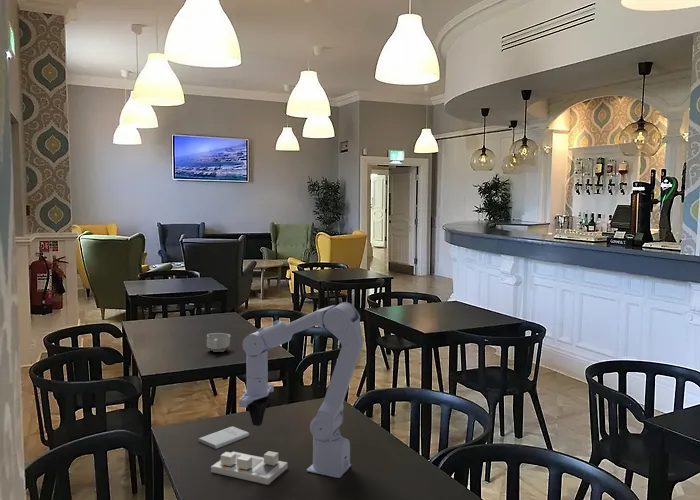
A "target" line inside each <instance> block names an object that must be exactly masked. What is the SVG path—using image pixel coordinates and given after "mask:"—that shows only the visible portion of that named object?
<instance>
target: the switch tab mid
mask: <svg viewBox="0 0 700 500" xmlns="http://www.w3.org/2000/svg"><path fill="white" fill-rule="evenodd" d="M251 466H252V457H250V456H245V455H241V456H240V457H239V458H237V468H241V469H245V470H247V469H249V468H250V467H251Z"/></svg>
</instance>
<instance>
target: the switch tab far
mask: <svg viewBox="0 0 700 500" xmlns="http://www.w3.org/2000/svg"><path fill="white" fill-rule="evenodd" d="M220 460H221V464H222V465H227V466H232V465H233V464H234V463H236V454H235V453H232V452H229V451H225V452H223V453H222V454H221V455H220Z"/></svg>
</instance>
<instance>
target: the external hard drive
mask: <svg viewBox="0 0 700 500" xmlns="http://www.w3.org/2000/svg"><path fill="white" fill-rule="evenodd" d="M247 437H250V432H248V431H246V430H243V429H240V428H238V427H236V426H229V427H227V428H224V429H221V430H218V431H215V432H213V433H209V434H207V435H204V436H202V437H199V438H198V439H197V441H198V443H201V444H204V445H206V446H208V447H210V448H213V449H214V450H217V449H219V448H222V447H225V446H227V445H229V444H232V443H235V442H237V441H239V440H243V439H245V438H247Z"/></svg>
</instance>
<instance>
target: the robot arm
mask: <svg viewBox="0 0 700 500" xmlns="http://www.w3.org/2000/svg"><path fill="white" fill-rule="evenodd" d="M360 320H361V315H360V313H359V312H358V310H357V309H356V307H355V306H354V305H353V304H352V303H350V302H348V301H347V302H346V301H344V302H339V304H337V305H336V304H334V305H329V306H326V307H323V308H320V309H316V310H315V311H313V312H311V313H309V314H306V315H304V316H301V317H300V318H298V319H296V320H293V321H290V322H287V321H285V320H280V321H279V319H277V320H275V321H273V322H272V324H271V325H269V326H266V327H260V328H258V329H257V331H254V332H253V333H250V334H248V335H247V336H246V337H244V339H243V340H242V349H243V351H244V352H245V354H246V357H245V358H246V359H245V362H246V363H245V364H246V365H245V366H246V367H245V368H246V373H245V374H246V375H245V376H246V388H245V389H244V390H243V391H242V392H243V393H242V394H243V395H242V396H241V398H239V399H238V407H239V408H240V407H241V408H247V411H248V413H249V415H250V419H251V423H252V425H253V426H257V427H260V426H261V425H262V424H263V421H264V416H265V412H266V410H267V409H266V408H267V407H268V404H269V403H270V402H271V401H270V400H271V398H270V397H269V394H270V393H273V392H275V390H274V389H275V388H274V387H275V385H274V384H270V383H269V381H268V380H269V379H268V377H269V375H268V369H269V367H268V362H269V360H268V358H269V357H268V352H269V350H271V349H274V348H275V347H278V346H281V345H284V344H286V343H288V342H290V341H291V340H292V339H293V336H294V335H295V334H298V333H300V332H302V331H305V330H308V329H310V328H312V327H319V328H321V329H325V328H326V329H327V330H328V331H329V332H330V334H333V336H334V337H336V338H337V340H338V342H339V343H340V345H341V348H340V351H339V353H338V357H337V360H336V363H335V366H334V370H333V372H332V375H331V377H330V378H331V379H330V381H329V384H328V386H327V389H326V392H325V396H324V399H323V401H322V404H321V405H320V407H319V408H318V411H317V413H316V416H315V417H314V418H313V419H312V420H311V421H310V423H309V431H310V433H311V435H312V464H311V465H310V466H309V467H308V468H307V469H306V472H309V473H313V474H319V475H321V476H328V477H333V478H337V479H339V478H341V477H342V476H343V475H344V474H345V473H346V472H348V470H349V468H350V467H351V466H352V464H351V442H350V440H349V439H348V438H345V437H343V436H342V435H341V431H340V427H341V425H342V423H343V421H344V414H343V412H344V411H343V410H344V408H345V404H344V401H345V398H346V396H347V393H348V390H349V386H350V383H351V381H352V378H353V375H354V371H355V369H356V365H357V362H358V360H359V356H360V354H361V351H362V347H363V345H364V337H363V332H362V326H361V321H360Z"/></svg>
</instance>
